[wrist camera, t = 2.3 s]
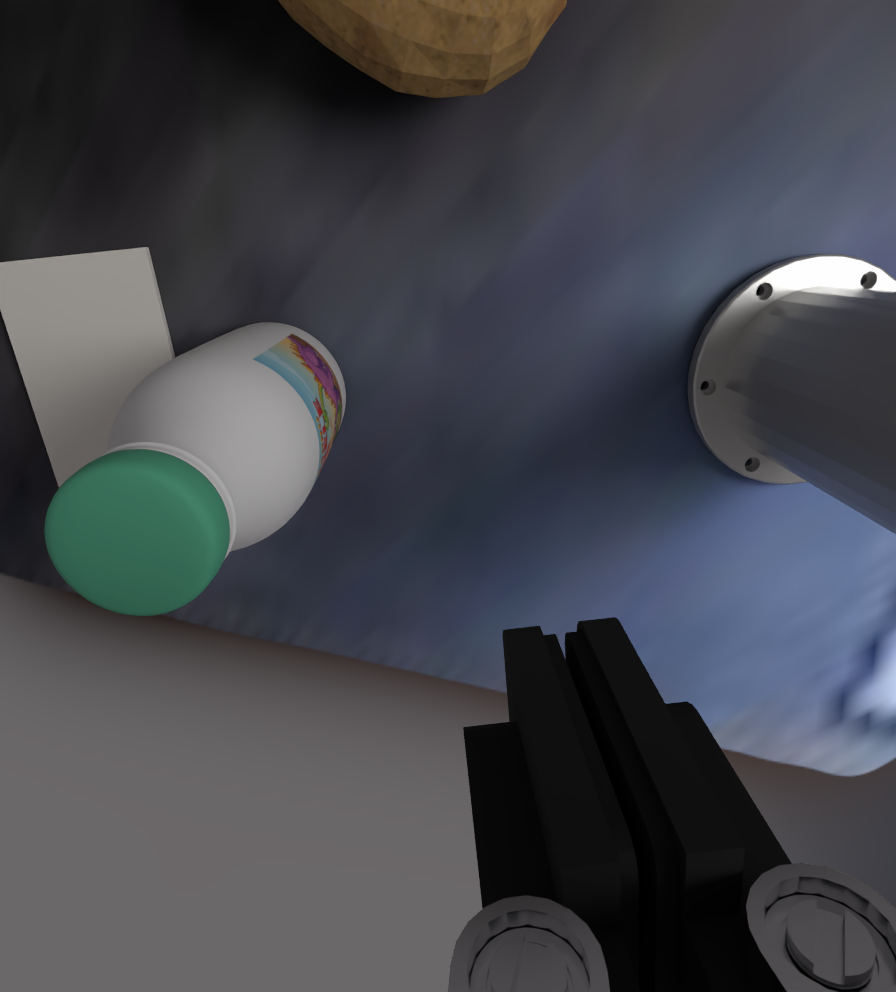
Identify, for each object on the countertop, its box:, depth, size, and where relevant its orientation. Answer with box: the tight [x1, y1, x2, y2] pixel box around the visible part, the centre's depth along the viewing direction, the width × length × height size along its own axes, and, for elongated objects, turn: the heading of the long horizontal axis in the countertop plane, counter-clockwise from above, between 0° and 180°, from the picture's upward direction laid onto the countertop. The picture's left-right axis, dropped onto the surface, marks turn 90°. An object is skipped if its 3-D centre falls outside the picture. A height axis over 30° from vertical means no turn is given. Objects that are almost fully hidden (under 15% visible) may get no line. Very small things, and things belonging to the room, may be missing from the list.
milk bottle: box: [44, 322, 346, 616], centre depth 27 cm, size 8×8×20 cm
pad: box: [0, 247, 175, 488], centre depth 36 cm, size 8×15×1 cm, turn 6°
